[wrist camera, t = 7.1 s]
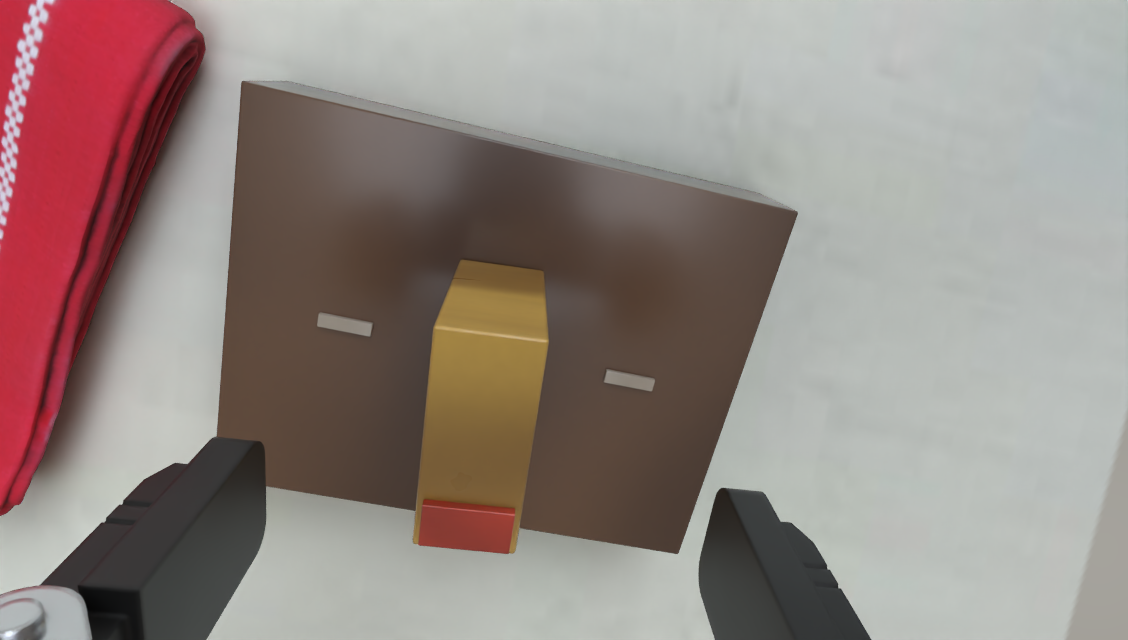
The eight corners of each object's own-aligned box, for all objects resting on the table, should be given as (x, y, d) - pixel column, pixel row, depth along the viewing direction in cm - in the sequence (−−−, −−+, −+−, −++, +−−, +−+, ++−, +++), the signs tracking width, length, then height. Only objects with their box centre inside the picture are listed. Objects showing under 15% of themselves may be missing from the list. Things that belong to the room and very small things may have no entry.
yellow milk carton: (459, 258, 17) (431, 329, 12) (544, 270, 17) (550, 345, 12) (441, 428, 19) (409, 552, 14) (519, 437, 19) (514, 562, 14)
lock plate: (761, 193, 20) (801, 213, 17) (660, 498, 23) (679, 558, 20) (285, 80, 18) (237, 80, 15) (254, 427, 22) (210, 481, 19)
